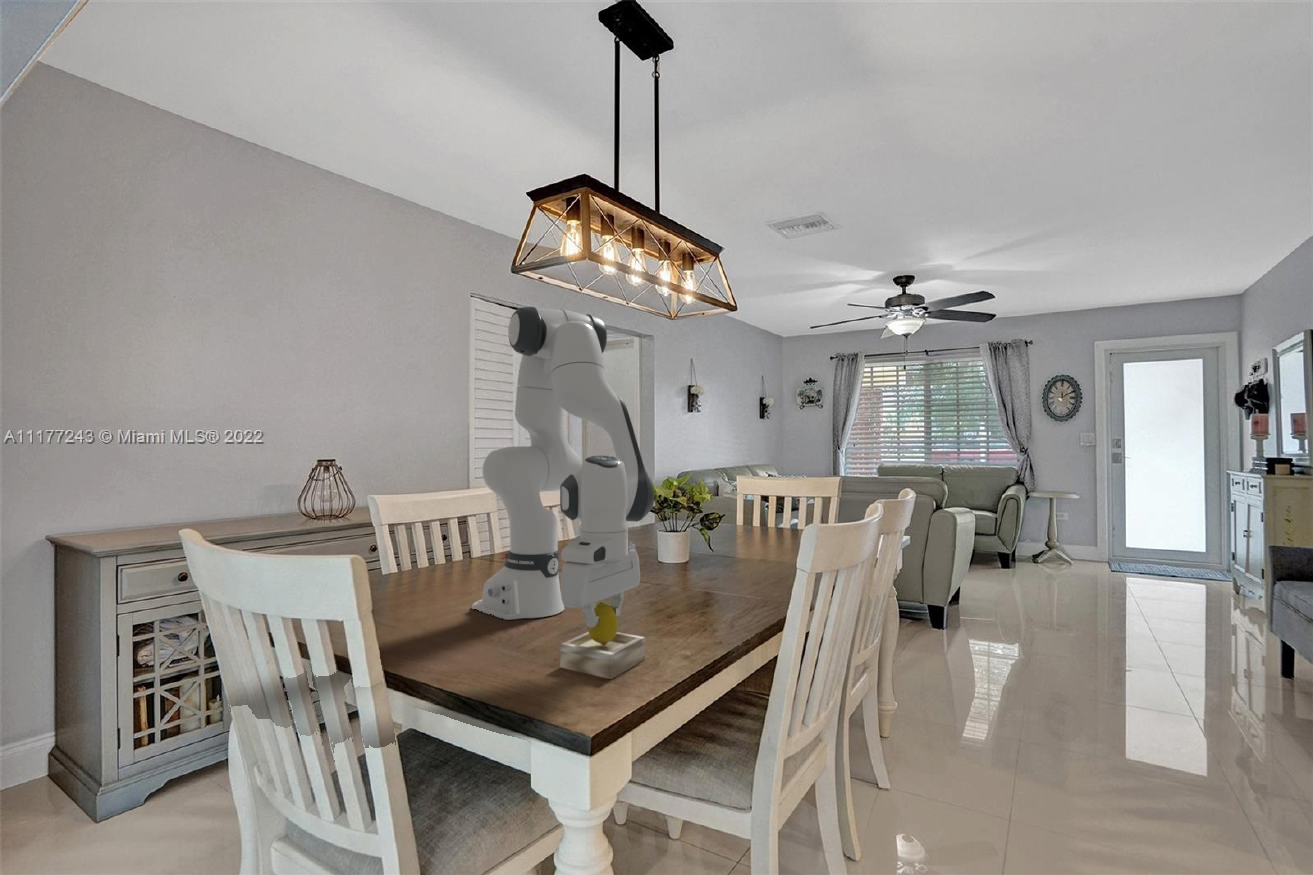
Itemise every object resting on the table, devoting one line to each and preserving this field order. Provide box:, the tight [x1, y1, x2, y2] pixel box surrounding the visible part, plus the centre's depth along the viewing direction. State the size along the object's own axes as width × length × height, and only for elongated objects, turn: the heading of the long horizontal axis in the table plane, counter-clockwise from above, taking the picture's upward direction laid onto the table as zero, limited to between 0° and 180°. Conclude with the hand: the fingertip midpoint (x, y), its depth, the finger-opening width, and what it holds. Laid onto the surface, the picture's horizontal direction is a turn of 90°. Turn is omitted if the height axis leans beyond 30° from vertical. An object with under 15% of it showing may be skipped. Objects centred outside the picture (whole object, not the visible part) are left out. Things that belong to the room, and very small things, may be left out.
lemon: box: [587, 601, 619, 646], centre depth 116 cm, size 6×6×8 cm
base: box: [559, 631, 646, 680], centre depth 116 cm, size 11×11×4 cm
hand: (603, 621), depth 116 cm, fingers closed on lemon, 5 cm apart
